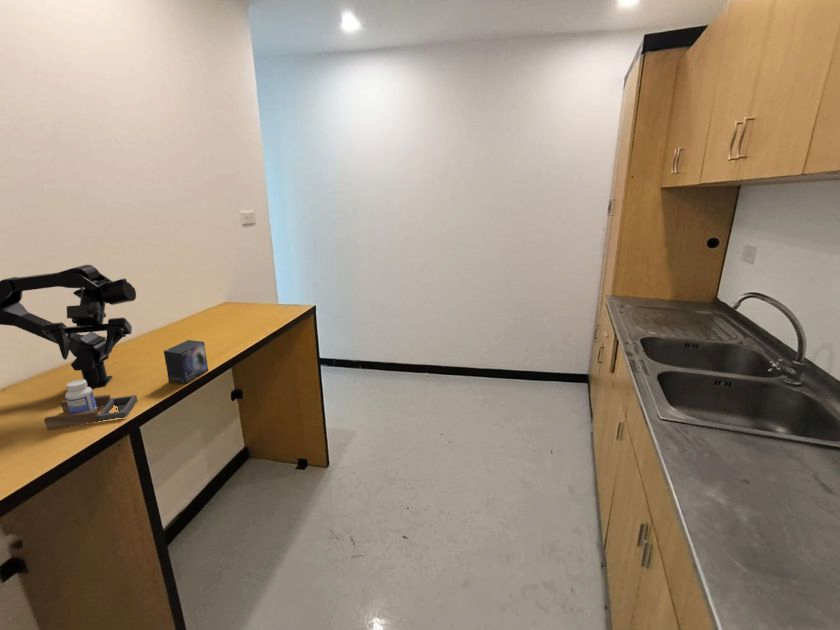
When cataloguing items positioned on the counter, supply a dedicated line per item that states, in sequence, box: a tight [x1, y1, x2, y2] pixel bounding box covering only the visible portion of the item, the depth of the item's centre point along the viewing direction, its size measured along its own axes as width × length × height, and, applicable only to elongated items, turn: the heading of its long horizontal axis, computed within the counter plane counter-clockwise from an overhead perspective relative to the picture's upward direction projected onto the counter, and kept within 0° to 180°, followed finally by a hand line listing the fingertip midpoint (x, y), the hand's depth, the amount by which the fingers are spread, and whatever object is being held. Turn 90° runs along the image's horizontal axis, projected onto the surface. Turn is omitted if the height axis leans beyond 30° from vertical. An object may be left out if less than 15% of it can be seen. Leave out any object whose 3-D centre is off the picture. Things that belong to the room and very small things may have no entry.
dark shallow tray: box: [98, 394, 138, 421], centre depth 108 cm, size 10×6×2 cm, turn 20°
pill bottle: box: [64, 378, 98, 414], centre depth 104 cm, size 5×5×10 cm
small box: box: [163, 339, 209, 384], centre depth 127 cm, size 11×6×10 cm, turn 168°
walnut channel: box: [43, 394, 111, 431], centre depth 105 cm, size 10×10×3 cm
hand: (85, 356), depth 109 cm, fingers open, 9 cm apart
